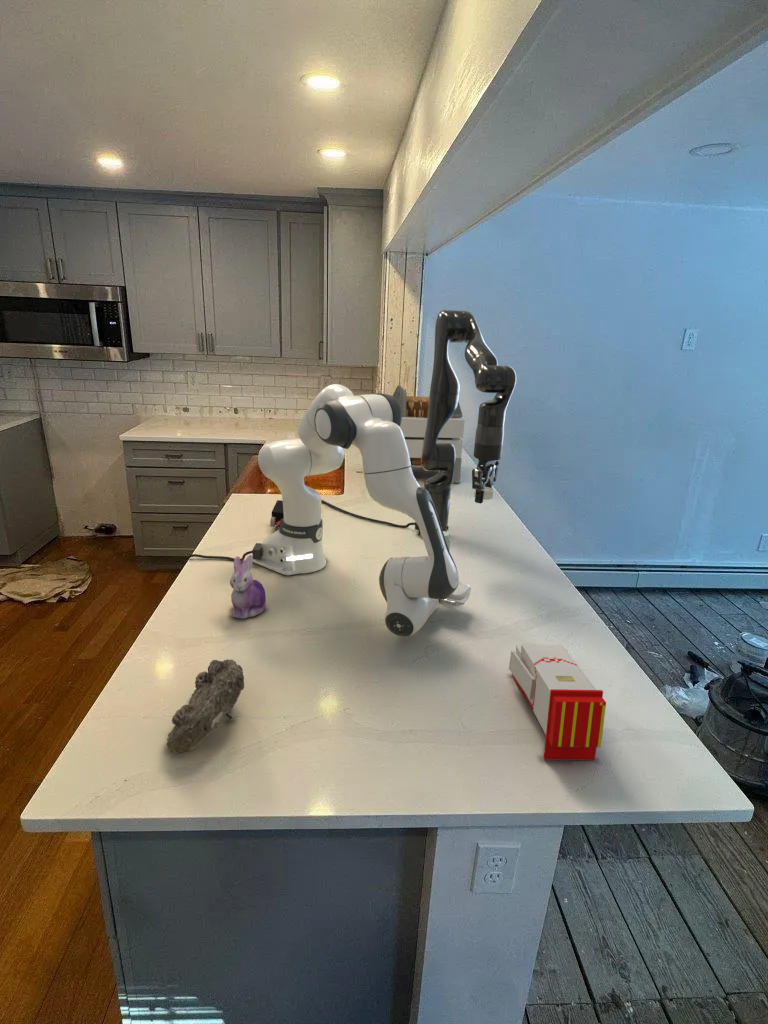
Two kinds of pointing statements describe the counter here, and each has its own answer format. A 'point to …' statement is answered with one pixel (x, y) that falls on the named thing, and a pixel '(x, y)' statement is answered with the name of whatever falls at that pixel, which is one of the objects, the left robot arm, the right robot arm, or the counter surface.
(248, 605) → the figurine
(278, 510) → the figurine character
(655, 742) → the counter surface
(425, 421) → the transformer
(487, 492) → the lid
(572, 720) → the toy
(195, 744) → the fossil
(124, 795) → the counter surface
